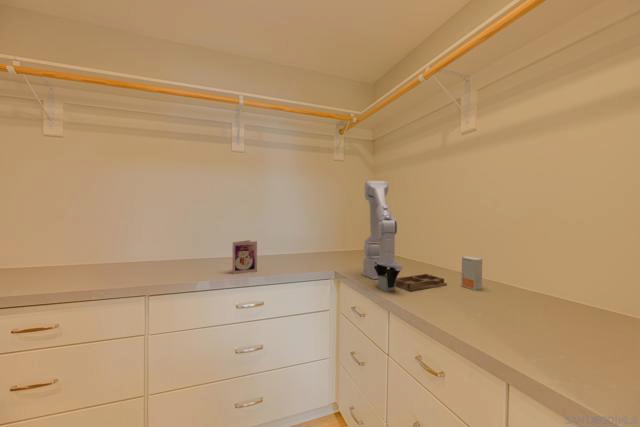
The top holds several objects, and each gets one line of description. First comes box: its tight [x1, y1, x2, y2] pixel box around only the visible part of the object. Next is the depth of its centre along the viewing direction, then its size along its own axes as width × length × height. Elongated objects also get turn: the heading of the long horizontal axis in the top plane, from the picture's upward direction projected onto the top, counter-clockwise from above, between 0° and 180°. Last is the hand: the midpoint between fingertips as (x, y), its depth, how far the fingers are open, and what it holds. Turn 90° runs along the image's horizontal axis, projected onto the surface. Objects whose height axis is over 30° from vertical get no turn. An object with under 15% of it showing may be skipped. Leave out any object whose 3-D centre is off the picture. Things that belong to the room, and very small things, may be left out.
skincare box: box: [460, 255, 483, 291], centre depth 104 cm, size 6×4×12 cm
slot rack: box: [395, 273, 448, 293], centre depth 107 cm, size 11×20×3 cm, turn 116°
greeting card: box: [232, 239, 258, 275], centre depth 128 cm, size 11×7×15 cm, turn 116°
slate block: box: [377, 274, 396, 292], centre depth 101 cm, size 4×4×5 cm
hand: (386, 285), depth 101 cm, fingers closed on slate block, 4 cm apart
